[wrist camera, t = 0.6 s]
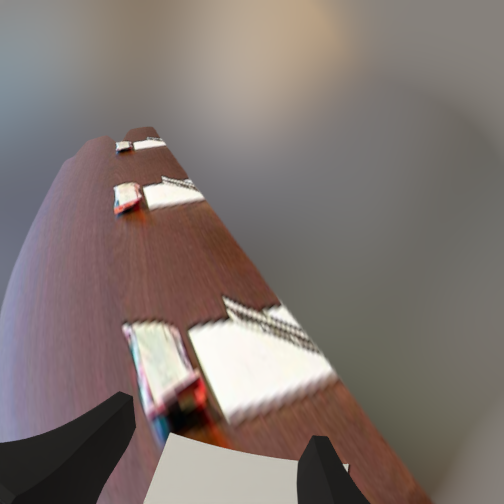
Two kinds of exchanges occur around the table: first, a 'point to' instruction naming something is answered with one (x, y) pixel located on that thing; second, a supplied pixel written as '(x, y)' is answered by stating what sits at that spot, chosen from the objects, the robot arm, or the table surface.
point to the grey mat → (220, 476)
